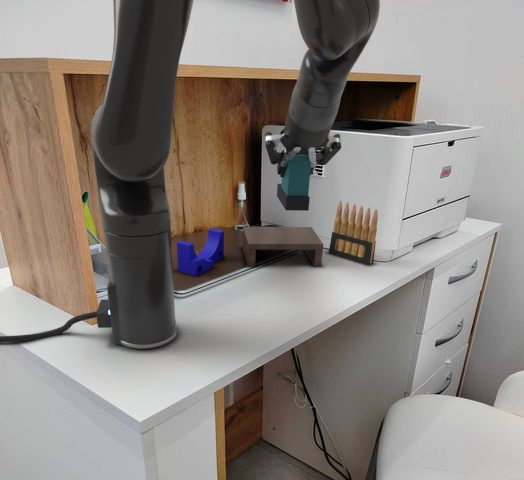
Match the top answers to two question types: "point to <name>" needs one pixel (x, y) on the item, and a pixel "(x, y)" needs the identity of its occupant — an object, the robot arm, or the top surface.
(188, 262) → the blue u-shaped cradle
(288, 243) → the walnut shelf
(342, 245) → the ammunition clip
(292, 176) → the teal block on base
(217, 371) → the top surface
